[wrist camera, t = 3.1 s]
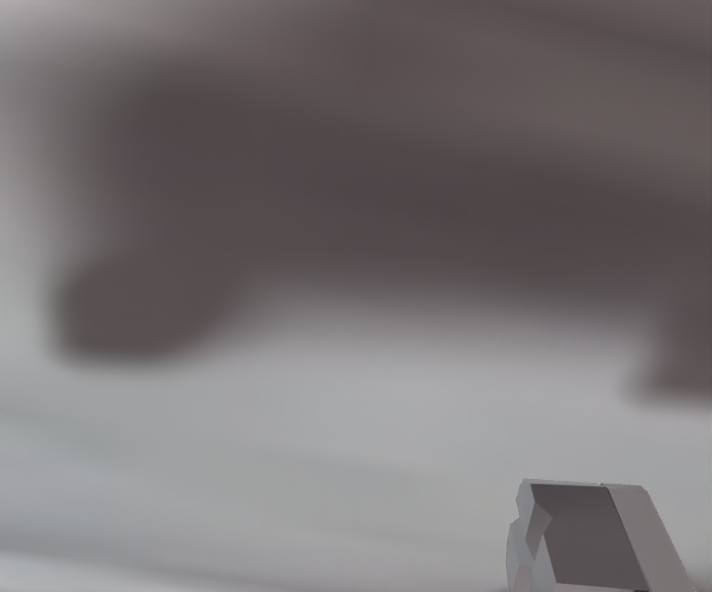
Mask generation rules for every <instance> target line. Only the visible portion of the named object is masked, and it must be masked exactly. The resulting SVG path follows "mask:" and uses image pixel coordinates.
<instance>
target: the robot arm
mask: <svg viewBox="0 0 712 592" xmlns="http://www.w3.org/2000/svg"><path fill="white" fill-rule="evenodd" d="M516 502H517V507H518V511H519V516H520V517H519V518H518V519H517V520H515V521H514V522H513V523H511V524H510V529H509V534H508V540H507V552H506V569H507V580H508V586H509V592H697V591H696V589H695V587H694V585H693V583H692V581H691V579H690V577H689V575H688V573H687V571H686V569H685V567H684V565H683V563H682V561H681V559H680V557H679V555H678V553H677V551H676V549H675V546H674V544H673V542H672V540H671V538H670V536H669V534H668V532H667V530H666V528H665V526H664V524H663V522H662V520H661V518H660V516H659V514H658V512H657V510H656V508H655V506H654V504H653V502H652V500H651V498H650V496H649V494H648V492H647V491H646V490H645V489H644V488H643V487H642V486H638V485H621V484H604V483H602V484H597V483H584V482H569V481H554V480H539V479H523V481H522V483H521V484H520V486H519V490H518V494H517V498H516Z"/></svg>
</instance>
